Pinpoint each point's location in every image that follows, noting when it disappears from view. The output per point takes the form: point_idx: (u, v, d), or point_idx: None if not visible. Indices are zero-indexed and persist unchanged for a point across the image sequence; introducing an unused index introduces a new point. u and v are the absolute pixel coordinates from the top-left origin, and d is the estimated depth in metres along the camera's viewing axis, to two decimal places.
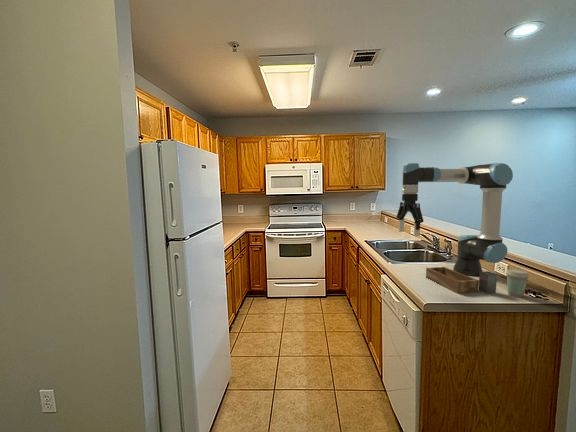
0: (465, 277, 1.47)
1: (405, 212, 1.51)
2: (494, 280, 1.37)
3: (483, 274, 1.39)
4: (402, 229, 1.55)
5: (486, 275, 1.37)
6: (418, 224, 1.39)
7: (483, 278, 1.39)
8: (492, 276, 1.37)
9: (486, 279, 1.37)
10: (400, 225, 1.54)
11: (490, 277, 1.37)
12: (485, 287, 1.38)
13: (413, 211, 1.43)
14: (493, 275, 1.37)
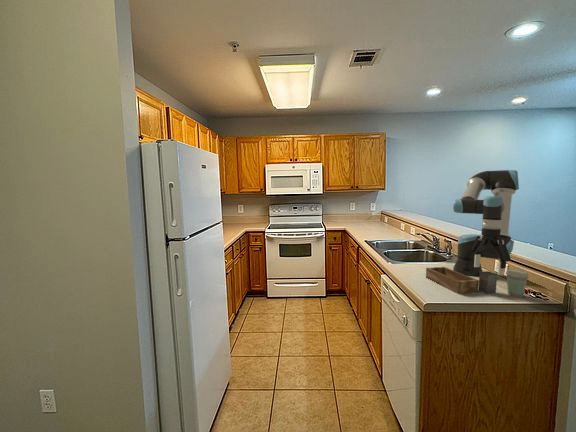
0: (465, 277, 1.47)
1: (483, 247, 1.42)
2: (494, 280, 1.37)
3: (483, 274, 1.39)
4: (478, 264, 1.45)
5: (486, 275, 1.37)
6: (504, 262, 1.30)
7: (483, 278, 1.39)
8: (492, 276, 1.37)
9: (486, 279, 1.38)
10: (476, 259, 1.45)
11: (490, 277, 1.37)
12: (485, 287, 1.38)
13: (496, 248, 1.33)
14: (493, 275, 1.37)
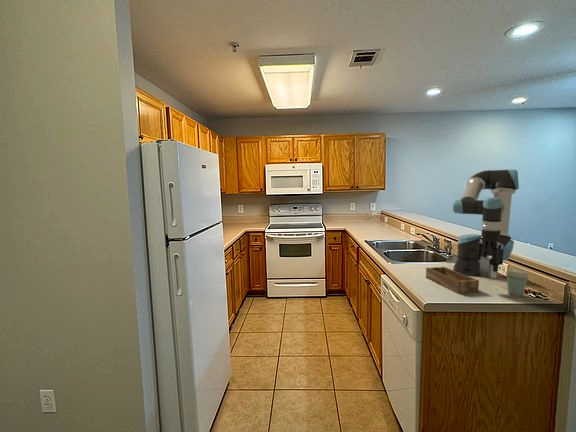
0: (465, 277, 1.47)
1: (486, 250, 1.40)
2: None
3: (484, 258, 1.39)
4: None
5: (487, 259, 1.37)
6: (496, 266, 1.35)
7: (484, 262, 1.39)
8: None
9: (487, 263, 1.37)
10: None
11: (491, 261, 1.36)
12: (486, 271, 1.38)
13: (494, 251, 1.35)
14: None
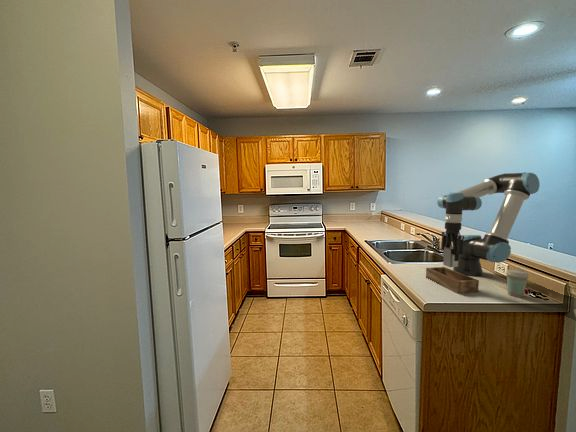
0: (465, 277, 1.47)
1: (449, 241, 1.51)
2: None
3: (447, 249, 1.49)
4: None
5: (449, 249, 1.47)
6: (457, 256, 1.45)
7: (447, 252, 1.49)
8: None
9: (449, 253, 1.47)
10: None
11: (452, 251, 1.47)
12: (448, 261, 1.48)
13: (455, 241, 1.46)
14: None
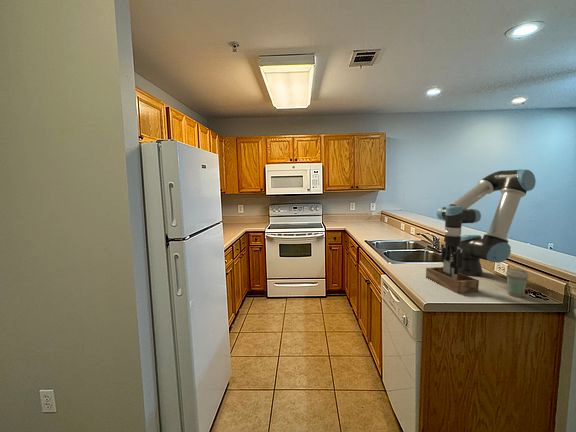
0: (465, 277, 1.47)
1: (449, 254, 1.52)
2: None
3: (446, 261, 1.50)
4: None
5: (449, 262, 1.48)
6: (456, 269, 1.46)
7: (446, 265, 1.50)
8: None
9: (449, 266, 1.48)
10: None
11: (452, 264, 1.48)
12: (448, 273, 1.49)
13: (454, 255, 1.47)
14: None
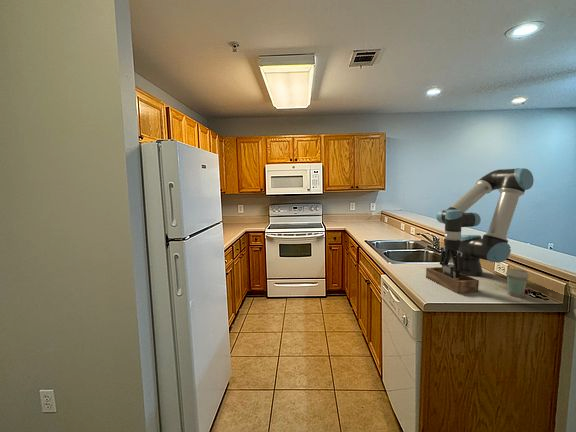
0: (465, 277, 1.47)
1: (448, 257, 1.52)
2: None
3: (446, 267, 1.50)
4: None
5: (449, 267, 1.49)
6: (458, 273, 1.45)
7: (446, 270, 1.50)
8: None
9: (449, 271, 1.49)
10: None
11: (452, 269, 1.48)
12: None
13: (455, 258, 1.47)
14: None
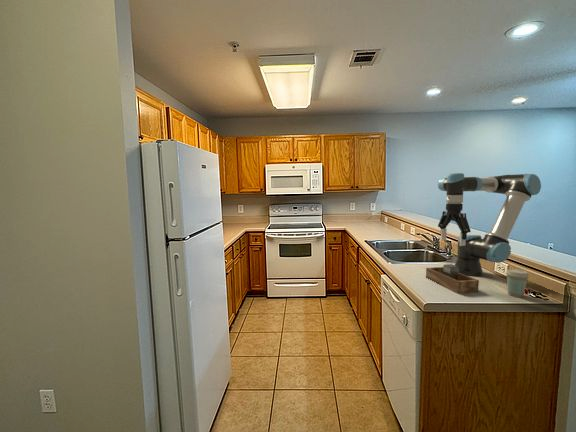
0: (465, 277, 1.47)
1: (448, 221, 1.52)
2: (456, 272, 1.49)
3: (446, 267, 1.50)
4: (444, 238, 1.55)
5: (449, 267, 1.49)
6: (465, 234, 1.40)
7: (446, 270, 1.50)
8: (454, 268, 1.48)
9: (449, 271, 1.49)
10: (443, 234, 1.55)
11: (452, 269, 1.48)
12: None
13: (458, 221, 1.44)
14: (455, 267, 1.48)
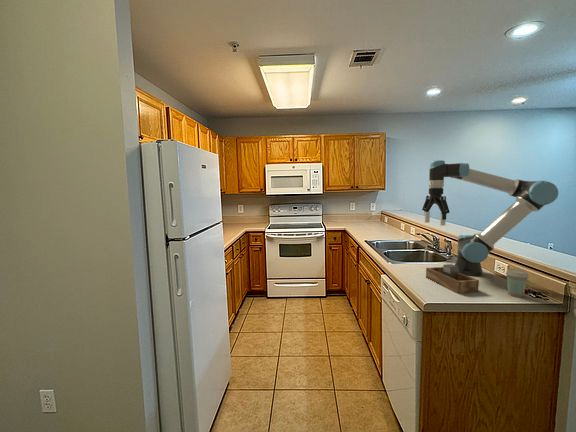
0: (465, 277, 1.47)
1: (431, 204, 1.68)
2: (456, 272, 1.49)
3: (446, 267, 1.50)
4: (428, 220, 1.71)
5: (449, 267, 1.49)
6: (444, 215, 1.56)
7: (446, 270, 1.50)
8: (454, 268, 1.48)
9: (449, 271, 1.49)
10: (426, 216, 1.71)
11: (452, 269, 1.48)
12: None
13: (439, 203, 1.60)
14: (455, 267, 1.48)
